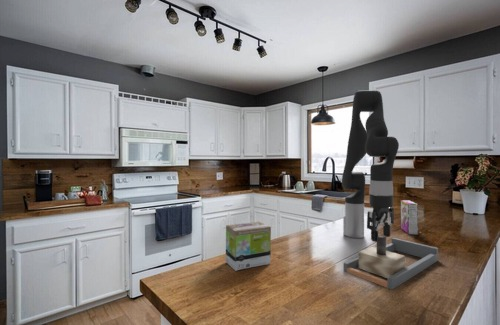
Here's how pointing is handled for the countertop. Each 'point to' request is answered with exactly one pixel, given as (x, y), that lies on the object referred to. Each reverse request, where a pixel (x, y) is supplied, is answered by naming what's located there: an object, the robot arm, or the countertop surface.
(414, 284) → the countertop surface
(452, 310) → the countertop surface
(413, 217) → the candy bar box
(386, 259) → the beige block
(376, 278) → the frame
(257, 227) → the tea box
